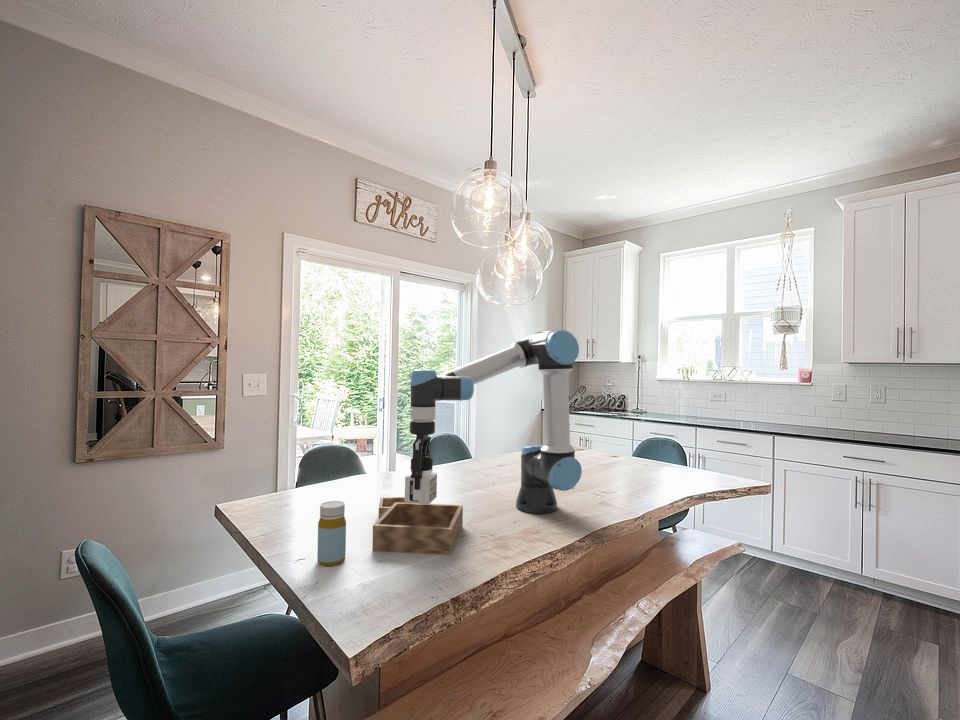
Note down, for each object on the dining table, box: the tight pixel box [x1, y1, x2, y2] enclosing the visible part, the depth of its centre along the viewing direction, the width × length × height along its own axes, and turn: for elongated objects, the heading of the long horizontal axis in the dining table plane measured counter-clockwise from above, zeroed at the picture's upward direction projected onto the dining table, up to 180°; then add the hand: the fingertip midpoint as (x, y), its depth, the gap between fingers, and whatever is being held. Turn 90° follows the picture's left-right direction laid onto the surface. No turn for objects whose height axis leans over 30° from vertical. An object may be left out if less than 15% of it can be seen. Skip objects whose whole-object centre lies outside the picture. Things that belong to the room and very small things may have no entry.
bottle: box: [316, 500, 347, 567], centre depth 122 cm, size 7×7×15 cm
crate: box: [371, 502, 464, 556], centre depth 140 cm, size 22×22×7 cm
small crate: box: [377, 496, 405, 522], centre depth 156 cm, size 12×12×6 cm
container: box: [404, 456, 438, 504], centre depth 140 cm, size 8×8×13 cm
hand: (421, 495), depth 140 cm, fingers closed on container, 8 cm apart
